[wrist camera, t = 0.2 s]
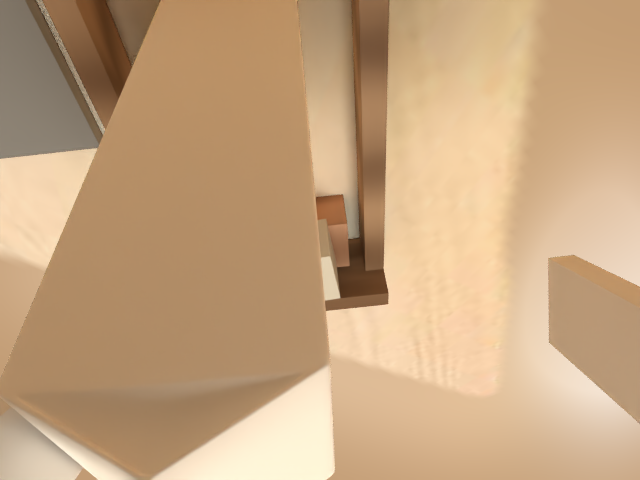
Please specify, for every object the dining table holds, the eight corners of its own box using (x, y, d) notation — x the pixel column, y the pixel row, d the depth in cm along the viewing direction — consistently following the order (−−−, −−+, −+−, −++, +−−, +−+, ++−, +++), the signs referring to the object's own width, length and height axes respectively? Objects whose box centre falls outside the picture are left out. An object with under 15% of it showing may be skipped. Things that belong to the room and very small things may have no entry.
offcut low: (204, 206, 31) (199, 239, 29) (342, 191, 31) (347, 223, 29) (219, 247, 34) (215, 280, 32) (344, 233, 34) (349, 265, 32)
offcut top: (213, 238, 29) (208, 276, 27) (326, 218, 28) (330, 256, 26) (233, 278, 32) (230, 315, 30) (336, 261, 31) (340, 298, 29)
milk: (193, 109, 26) (73, 650, 11) (161, -11, 21) (-126, 629, 6) (307, 101, 26) (347, 628, 11) (298, -20, 21) (349, 591, 6)
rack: (62, -34, 20) (19, 14, 17) (377, -71, 20) (399, -30, 17) (193, 267, 35) (185, 325, 31) (376, 247, 35) (388, 304, 31)
